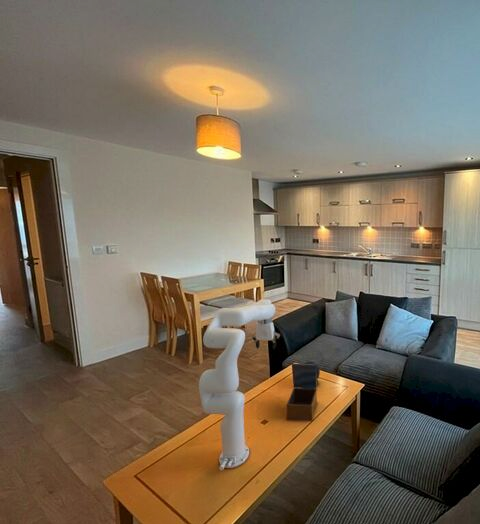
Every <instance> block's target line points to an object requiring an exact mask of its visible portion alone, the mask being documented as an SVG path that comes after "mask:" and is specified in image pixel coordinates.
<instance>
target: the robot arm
mask: <svg viewBox="0 0 480 524" xmlns="http://www.w3.org/2000/svg"><path fill="white" fill-rule="evenodd" d="M275 313H276V306H275V305H274V304H273V303H272V301H271V299H268V298H261V299H259V300H258V301H256V302H253V303H251V304H248V305H244V306H241V307H221V308H219V309H218V310H217V311H216V313H215V314H214V315H213V317H212V318H211V320H210V322H209V324H208V325H207V328H206V330H205V331H204V334H203V338H202V343H203V345H204V346H205V347H207V348H208V349H224V350H223V351H222V352H221V353H220V355H219V356H218V357H217V358H216V360H215V363H214V367H215V368H210V369H209V368H208V369H206V370H205V371H203V372H202V374H201V375H200V378H199V381H198V391H199V398H200V404H201V409H202V411H203V413H204V414H208V415H219V416H220V415H221V416H224V417H223V418H222V419H221V422H220V436H221V448H222V449H221V453H220V455H219V458H218V463H219V467H218V470H219V471H223V470H224V469H233V468H237V467H239V466H240V465H242V464H243V463H245V462H246V461H247V459H248V458H249V455H250V449H249V447H248V446H247V445H246V436H245V421H244V412H245V403H246V397H245V396H246V395H245V394H244V393H243V392H241V391H239V390H238V388H239V385H240V377H239V370H238V358H239V355H240V354H241V351H242V349H243V346H244V343H245V341H246V333H245V331H244V330H242V329H240V328H237V327H243V326H245V325H247V324H250V323H254V322H256V326H255V331H254V332H253V333H251V334H250V336H251V338H252V340H253V341H254V343H255V348H256V350H258V349H259V348H260V341H271V343H272V350H275V349H276V348H277V341H278V340H279V339H280V337H281V334H280V333H278V332H276V331H275V326H274V322H273V321H272V318H273V317H274V316H275ZM231 327H232V328H231ZM234 327H235V328H234Z"/></svg>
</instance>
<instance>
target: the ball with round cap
mask: <svg viewBox="0 0 480 524" xmlns="http://www.w3.org/2000/svg"><path fill="white" fill-rule="evenodd" d="M303 364H316V382H317V387H318V386H319V381H318V379H319V377H320V375H321V374H320V373H321V371H320V367H319V365H318V364H317V363H316V362H313V361H306V362H304V363H303ZM309 389H315V388H309Z"/></svg>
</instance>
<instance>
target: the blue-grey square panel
mask: <svg viewBox="0 0 480 524" xmlns="http://www.w3.org/2000/svg"><path fill="white" fill-rule="evenodd" d="M316 364H317V363H316ZM316 364H304V363H291V372H292V383H293V385H292V386H293V389H294V388H314V389H317V388H318V386H317V382H316Z"/></svg>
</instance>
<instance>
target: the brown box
mask: <svg viewBox="0 0 480 524" xmlns="http://www.w3.org/2000/svg"><path fill="white" fill-rule="evenodd" d="M317 403H318V389H317V388H314V389H309V388H294V387H293V388H292V391H291V394H290V396H289V398H288V401H287V403H286V420H287V421H304V422H305V421H308V422H311V421H313V418H314V415H315V411H316V408H317Z"/></svg>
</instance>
